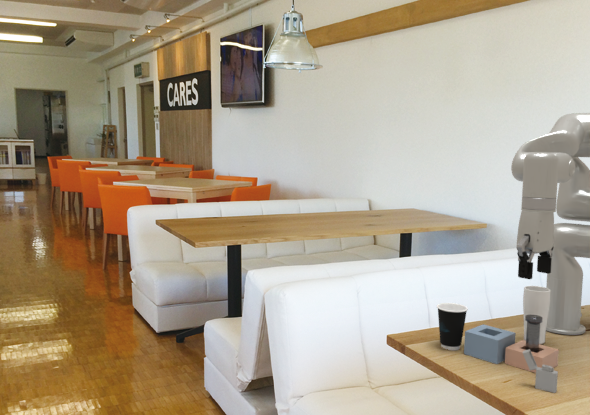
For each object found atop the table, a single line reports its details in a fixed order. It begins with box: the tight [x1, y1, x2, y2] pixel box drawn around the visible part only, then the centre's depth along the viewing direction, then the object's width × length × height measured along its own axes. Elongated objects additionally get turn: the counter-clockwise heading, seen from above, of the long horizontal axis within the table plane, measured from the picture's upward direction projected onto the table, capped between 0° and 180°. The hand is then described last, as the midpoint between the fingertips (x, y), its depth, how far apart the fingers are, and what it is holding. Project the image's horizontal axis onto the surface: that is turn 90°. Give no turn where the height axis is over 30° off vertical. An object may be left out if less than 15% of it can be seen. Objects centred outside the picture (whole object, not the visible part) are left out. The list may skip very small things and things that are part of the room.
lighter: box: [523, 349, 559, 394], centre depth 119 cm, size 7×2×8 cm, turn 56°
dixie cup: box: [436, 302, 469, 351], centre depth 143 cm, size 8×8×11 cm
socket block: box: [463, 324, 516, 365], centre depth 138 cm, size 9×9×6 cm
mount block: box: [504, 339, 560, 374], centre depth 132 cm, size 9×9×4 cm
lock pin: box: [525, 315, 543, 353], centre depth 132 cm, size 4×4×12 cm
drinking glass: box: [522, 285, 551, 345], centre depth 148 cm, size 7×7×15 cm
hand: (534, 275), depth 130 cm, fingers open, 9 cm apart
